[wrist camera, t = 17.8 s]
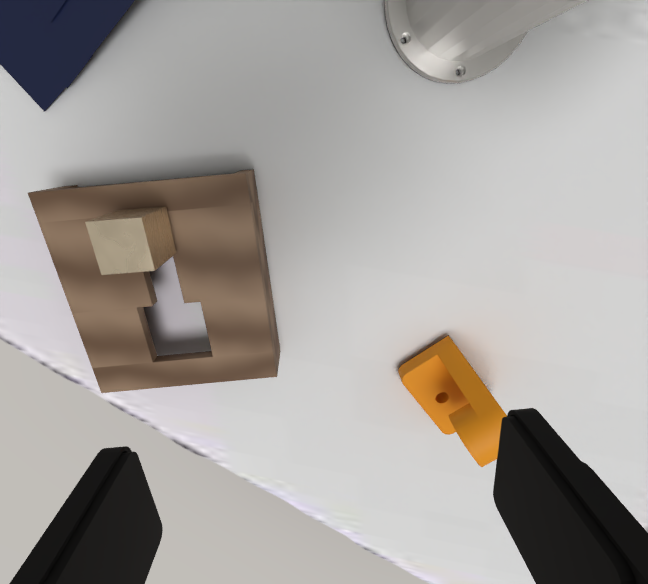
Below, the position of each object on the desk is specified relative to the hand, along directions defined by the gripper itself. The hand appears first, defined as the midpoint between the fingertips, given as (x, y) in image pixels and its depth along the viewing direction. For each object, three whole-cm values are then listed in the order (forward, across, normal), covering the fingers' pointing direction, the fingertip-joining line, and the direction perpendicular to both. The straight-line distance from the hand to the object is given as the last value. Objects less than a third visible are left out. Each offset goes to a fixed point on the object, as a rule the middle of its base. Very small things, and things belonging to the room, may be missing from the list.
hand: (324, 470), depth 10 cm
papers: (+31, +17, -30) cm, 46 cm away
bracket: (+31, -14, +20) cm, 39 cm away
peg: (+30, +14, -2) cm, 33 cm away
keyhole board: (+30, +14, +4) cm, 34 cm away
